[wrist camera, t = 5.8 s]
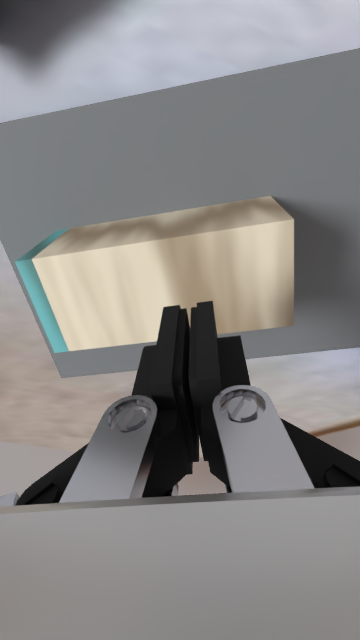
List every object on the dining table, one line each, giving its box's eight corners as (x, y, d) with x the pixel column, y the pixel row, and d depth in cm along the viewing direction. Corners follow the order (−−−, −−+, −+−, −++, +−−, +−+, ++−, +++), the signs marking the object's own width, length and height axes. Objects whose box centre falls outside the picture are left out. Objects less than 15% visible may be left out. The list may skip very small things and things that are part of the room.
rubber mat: (416, 37, 15) (424, 34, 14) (372, 340, 22) (376, 345, 22) (-40, 132, 17) (-47, 133, 17) (64, 372, 25) (61, 378, 25)
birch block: (294, 219, 13) (14, 261, 15) (293, 325, 16) (54, 353, 17) (270, 195, 18) (56, 230, 19) (273, 282, 20) (83, 307, 22)
